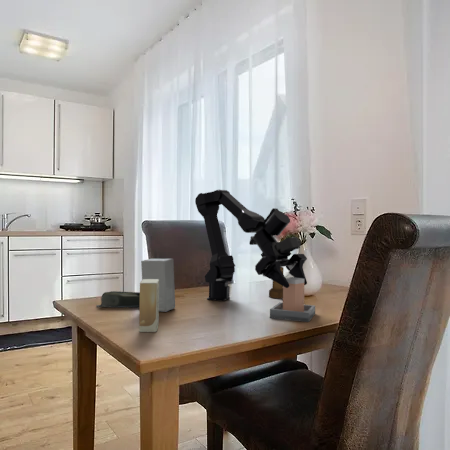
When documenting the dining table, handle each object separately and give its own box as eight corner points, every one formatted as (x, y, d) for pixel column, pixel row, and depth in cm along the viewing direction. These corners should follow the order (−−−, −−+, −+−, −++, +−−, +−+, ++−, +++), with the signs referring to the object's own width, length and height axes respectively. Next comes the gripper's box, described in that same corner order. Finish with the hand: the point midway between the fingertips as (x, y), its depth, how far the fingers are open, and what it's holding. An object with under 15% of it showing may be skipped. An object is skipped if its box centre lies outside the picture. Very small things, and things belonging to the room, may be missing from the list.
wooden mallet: (286, 298, 140) (286, 249, 140) (268, 298, 141) (268, 248, 141) (286, 295, 146) (287, 248, 146) (269, 294, 147) (270, 248, 147)
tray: (269, 318, 110) (270, 309, 110) (279, 310, 120) (279, 302, 120) (308, 322, 106) (308, 313, 106) (315, 313, 116) (315, 305, 116)
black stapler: (145, 291, 125) (98, 290, 123) (144, 293, 122) (96, 292, 120) (145, 306, 125) (97, 306, 123) (144, 308, 122) (95, 308, 120)
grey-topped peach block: (294, 314, 110) (295, 279, 110) (282, 312, 113) (283, 278, 113) (304, 312, 113) (304, 278, 113) (291, 310, 116) (292, 277, 116)
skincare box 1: (175, 308, 121) (176, 258, 121) (164, 313, 114) (165, 260, 114) (151, 306, 124) (152, 257, 124) (140, 310, 117) (140, 258, 117)
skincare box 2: (141, 325, 100) (142, 278, 100) (158, 325, 100) (159, 278, 100) (138, 332, 93) (139, 282, 93) (156, 332, 94) (157, 282, 94)
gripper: (263, 227, 110) (293, 270, 102) (302, 228, 122) (332, 265, 114) (243, 253, 115) (270, 295, 107) (282, 251, 128) (309, 288, 120)
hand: (297, 285), depth 112 cm, fingers open, 8 cm apart
